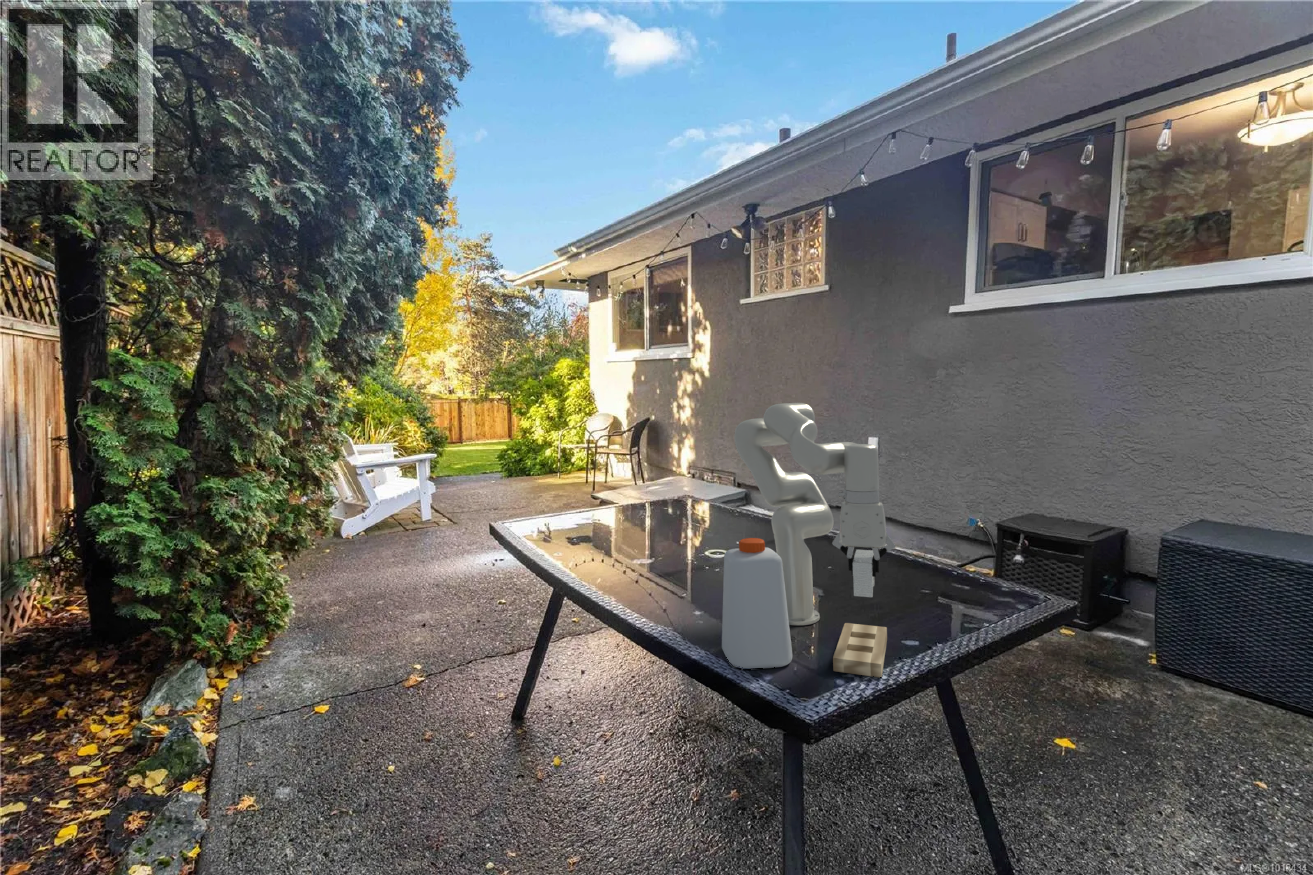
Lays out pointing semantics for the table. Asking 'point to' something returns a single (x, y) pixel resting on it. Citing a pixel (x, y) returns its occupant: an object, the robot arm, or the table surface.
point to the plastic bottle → (755, 607)
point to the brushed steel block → (863, 573)
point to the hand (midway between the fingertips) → (863, 573)
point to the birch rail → (861, 650)
